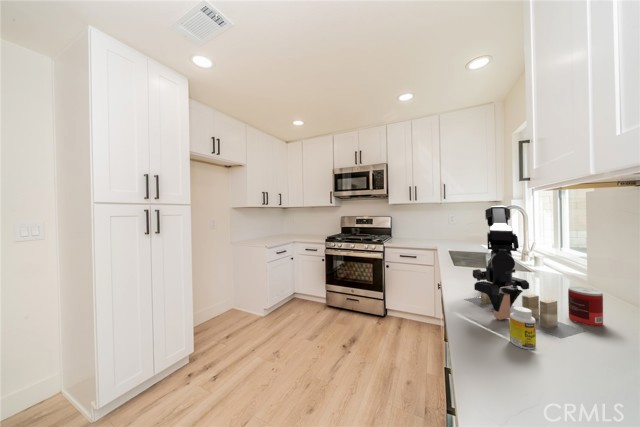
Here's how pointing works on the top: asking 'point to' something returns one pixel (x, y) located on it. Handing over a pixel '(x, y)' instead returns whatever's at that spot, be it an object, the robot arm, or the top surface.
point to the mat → (537, 322)
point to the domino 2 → (503, 308)
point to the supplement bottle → (522, 328)
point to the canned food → (585, 306)
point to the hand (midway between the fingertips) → (502, 310)
